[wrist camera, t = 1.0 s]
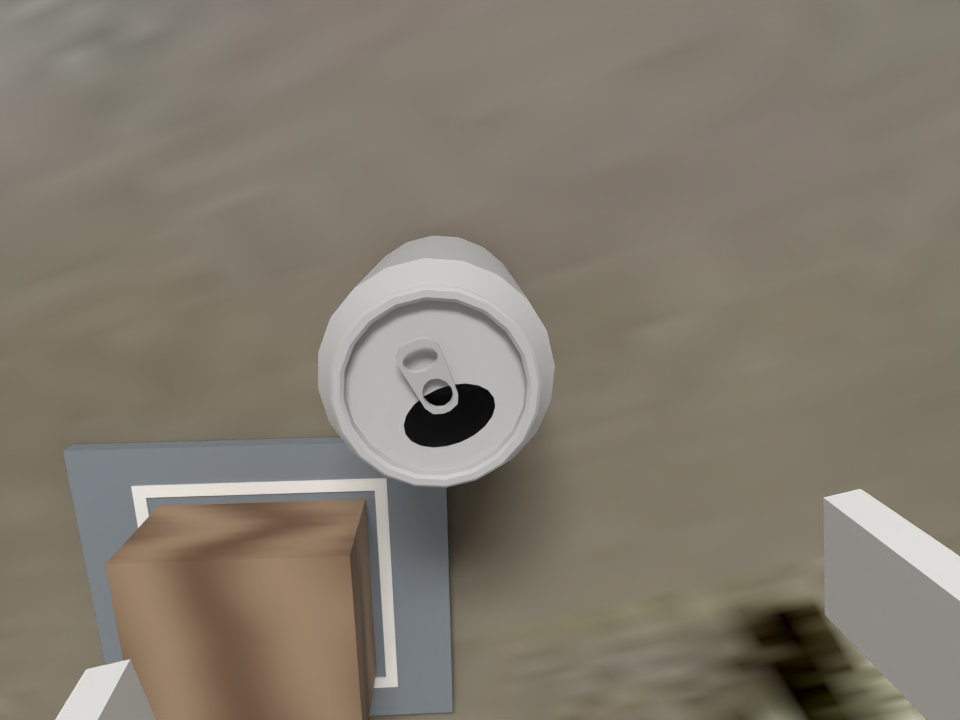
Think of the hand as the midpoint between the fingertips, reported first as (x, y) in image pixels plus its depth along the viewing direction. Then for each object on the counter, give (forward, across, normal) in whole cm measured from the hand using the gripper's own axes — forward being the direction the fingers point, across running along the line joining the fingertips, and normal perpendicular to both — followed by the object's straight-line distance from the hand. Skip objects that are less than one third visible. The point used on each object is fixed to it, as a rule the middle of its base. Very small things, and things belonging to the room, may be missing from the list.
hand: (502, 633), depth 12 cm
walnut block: (+19, +11, +10) cm, 24 cm away
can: (+20, -1, -2) cm, 20 cm away
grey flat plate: (+20, +10, +11) cm, 25 cm away
